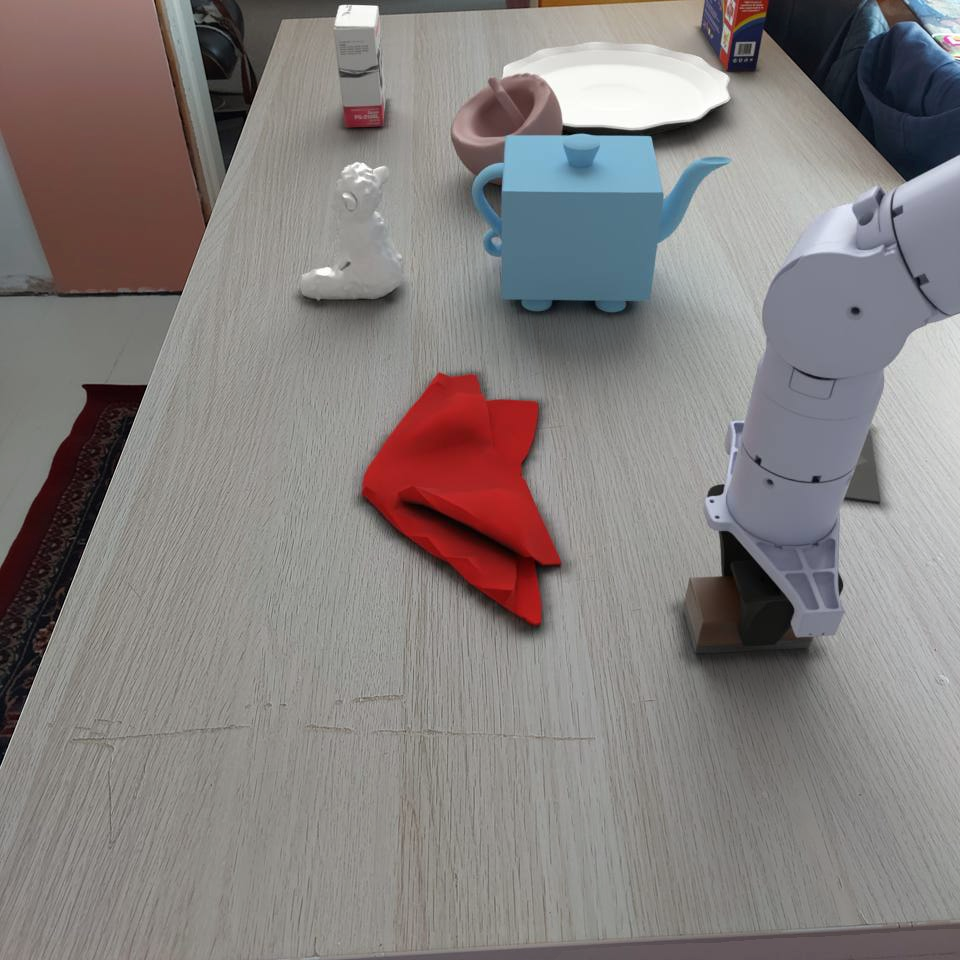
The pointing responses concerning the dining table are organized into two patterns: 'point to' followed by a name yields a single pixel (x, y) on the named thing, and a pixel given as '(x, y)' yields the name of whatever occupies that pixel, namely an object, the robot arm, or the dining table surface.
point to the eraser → (723, 618)
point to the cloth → (467, 489)
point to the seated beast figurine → (358, 242)
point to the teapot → (582, 217)
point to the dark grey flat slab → (864, 476)
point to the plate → (626, 87)
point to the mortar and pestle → (503, 119)
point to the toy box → (735, 31)
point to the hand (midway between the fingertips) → (749, 613)
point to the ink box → (360, 65)
